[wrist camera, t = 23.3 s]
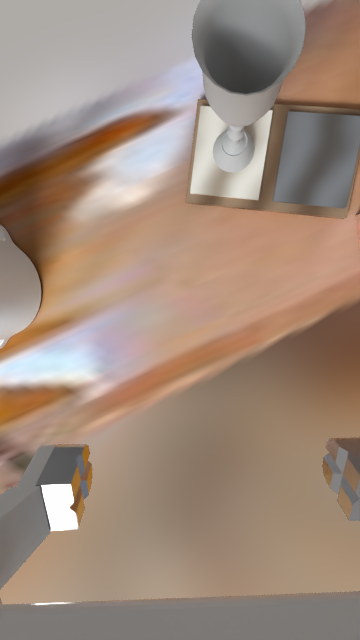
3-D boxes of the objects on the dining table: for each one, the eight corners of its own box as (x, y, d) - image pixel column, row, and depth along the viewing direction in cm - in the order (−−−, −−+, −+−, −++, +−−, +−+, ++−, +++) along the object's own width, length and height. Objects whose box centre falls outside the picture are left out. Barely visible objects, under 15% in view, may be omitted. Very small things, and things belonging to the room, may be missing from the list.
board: (186, 203, 39) (185, 200, 38) (198, 103, 37) (197, 96, 36) (343, 218, 37) (348, 216, 36) (365, 114, 35) (372, 106, 33)
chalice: (193, 144, 36) (169, 23, 19) (239, 105, 35) (260, -64, 18) (227, 193, 37) (235, 120, 19) (274, 156, 36) (329, 42, 18)
